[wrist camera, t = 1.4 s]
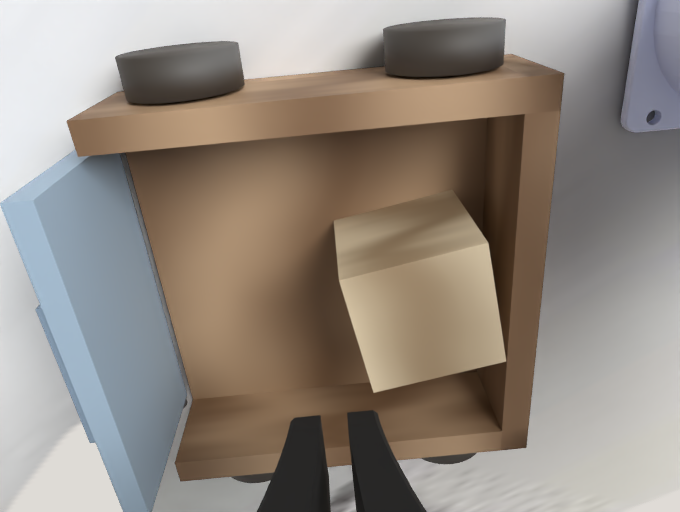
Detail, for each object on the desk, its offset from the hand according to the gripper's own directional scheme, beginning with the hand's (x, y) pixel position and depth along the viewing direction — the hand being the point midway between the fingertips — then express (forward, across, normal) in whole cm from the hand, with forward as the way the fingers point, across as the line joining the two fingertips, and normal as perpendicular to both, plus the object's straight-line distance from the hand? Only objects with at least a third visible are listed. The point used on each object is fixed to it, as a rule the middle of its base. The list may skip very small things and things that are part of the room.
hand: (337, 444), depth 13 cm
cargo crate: (+9, -3, 0) cm, 10 cm away
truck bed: (+10, 0, 0) cm, 10 cm away
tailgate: (+9, +7, 0) cm, 12 cm away
